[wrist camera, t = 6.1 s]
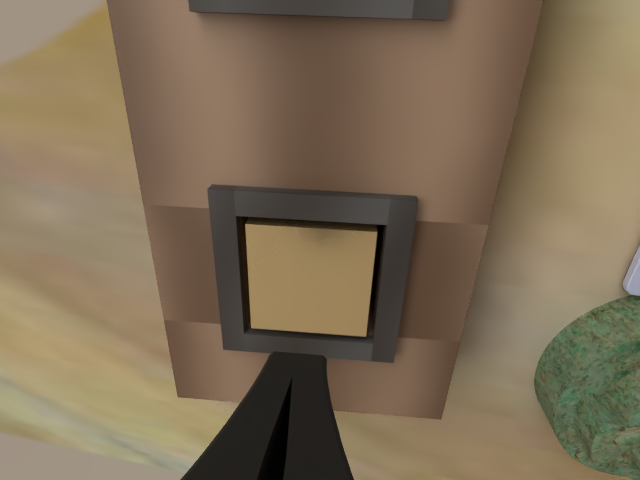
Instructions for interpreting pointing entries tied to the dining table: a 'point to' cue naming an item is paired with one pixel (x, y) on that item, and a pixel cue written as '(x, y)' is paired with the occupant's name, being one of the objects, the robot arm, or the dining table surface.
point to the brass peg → (310, 275)
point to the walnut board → (321, 171)
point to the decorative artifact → (596, 387)
